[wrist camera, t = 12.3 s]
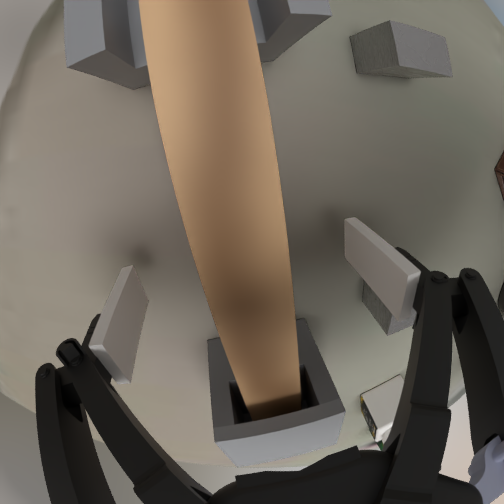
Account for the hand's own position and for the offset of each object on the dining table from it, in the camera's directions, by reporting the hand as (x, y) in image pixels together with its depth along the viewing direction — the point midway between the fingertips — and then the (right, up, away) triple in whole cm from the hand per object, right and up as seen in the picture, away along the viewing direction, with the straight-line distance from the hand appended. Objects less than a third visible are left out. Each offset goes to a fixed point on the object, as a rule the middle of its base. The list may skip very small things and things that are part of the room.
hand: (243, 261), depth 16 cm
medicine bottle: (+21, -22, +20) cm, 36 cm away
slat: (0, -1, -1) cm, 1 cm away
